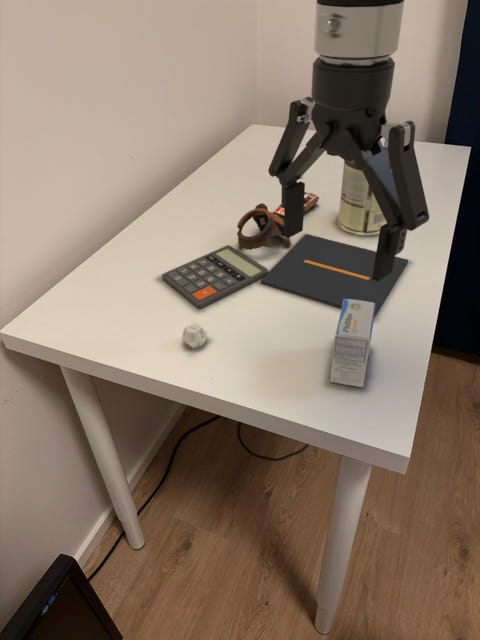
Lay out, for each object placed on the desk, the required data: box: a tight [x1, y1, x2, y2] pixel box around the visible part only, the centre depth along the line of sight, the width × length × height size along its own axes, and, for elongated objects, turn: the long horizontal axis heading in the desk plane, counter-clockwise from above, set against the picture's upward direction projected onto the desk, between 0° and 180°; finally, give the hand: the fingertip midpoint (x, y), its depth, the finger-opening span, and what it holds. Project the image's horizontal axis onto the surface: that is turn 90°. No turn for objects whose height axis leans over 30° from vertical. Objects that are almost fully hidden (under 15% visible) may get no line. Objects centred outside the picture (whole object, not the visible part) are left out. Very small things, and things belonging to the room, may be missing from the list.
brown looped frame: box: [236, 203, 292, 251], centre depth 92 cm, size 12×10×8 cm
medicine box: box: [329, 299, 376, 388], centre depth 64 cm, size 8×4×9 cm, turn 163°
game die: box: [181, 322, 208, 349], centre depth 71 cm, size 4×4×3 cm
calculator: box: [161, 244, 269, 309], centre depth 85 cm, size 12×1×15 cm
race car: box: [272, 191, 320, 221], centre depth 101 cm, size 5×12×5 cm, turn 137°
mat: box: [260, 233, 409, 318], centre depth 84 cm, size 20×18×1 cm
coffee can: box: [337, 145, 392, 237], centre depth 93 cm, size 10×10×14 cm
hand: (334, 253), depth 58 cm, fingers open, 13 cm apart
